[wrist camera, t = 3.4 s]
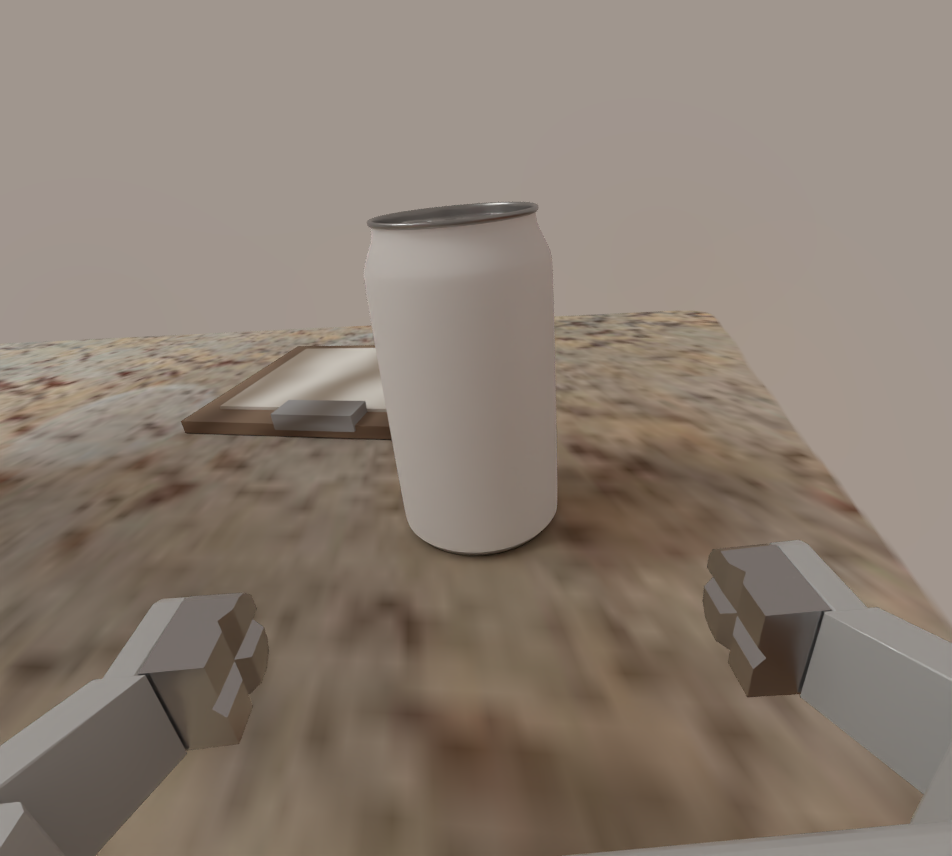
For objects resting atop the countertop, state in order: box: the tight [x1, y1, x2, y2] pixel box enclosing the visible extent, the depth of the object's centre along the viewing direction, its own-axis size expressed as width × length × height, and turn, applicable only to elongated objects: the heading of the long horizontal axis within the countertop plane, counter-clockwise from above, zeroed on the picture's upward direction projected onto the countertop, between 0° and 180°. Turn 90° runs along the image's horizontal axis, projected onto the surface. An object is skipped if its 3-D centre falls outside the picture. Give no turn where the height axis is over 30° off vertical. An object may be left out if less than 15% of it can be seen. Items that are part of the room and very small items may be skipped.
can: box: [364, 202, 557, 556], centre depth 20 cm, size 6×6×12 cm
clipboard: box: [181, 345, 392, 439], centre depth 36 cm, size 18×14×2 cm
